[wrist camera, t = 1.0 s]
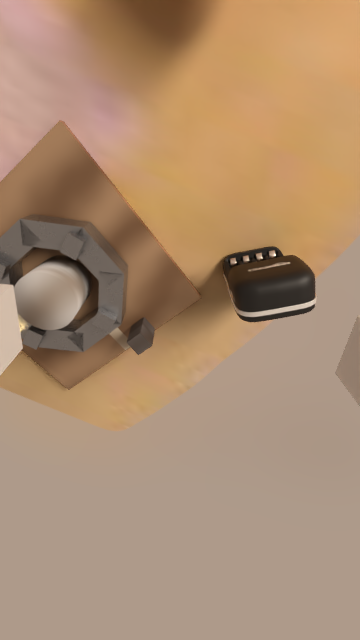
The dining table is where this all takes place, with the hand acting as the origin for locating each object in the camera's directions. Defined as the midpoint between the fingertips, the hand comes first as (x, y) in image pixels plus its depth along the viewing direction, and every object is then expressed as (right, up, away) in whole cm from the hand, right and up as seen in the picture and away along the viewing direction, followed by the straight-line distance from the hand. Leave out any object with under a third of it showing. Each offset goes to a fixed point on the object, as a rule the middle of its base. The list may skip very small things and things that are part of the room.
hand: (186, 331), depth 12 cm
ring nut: (-16, +2, +24) cm, 29 cm away
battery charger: (+8, +7, +23) cm, 26 cm away
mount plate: (-13, +5, +24) cm, 28 cm away
